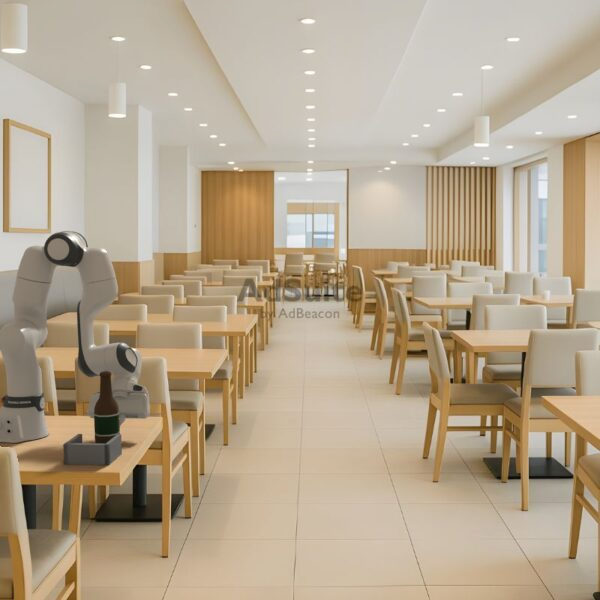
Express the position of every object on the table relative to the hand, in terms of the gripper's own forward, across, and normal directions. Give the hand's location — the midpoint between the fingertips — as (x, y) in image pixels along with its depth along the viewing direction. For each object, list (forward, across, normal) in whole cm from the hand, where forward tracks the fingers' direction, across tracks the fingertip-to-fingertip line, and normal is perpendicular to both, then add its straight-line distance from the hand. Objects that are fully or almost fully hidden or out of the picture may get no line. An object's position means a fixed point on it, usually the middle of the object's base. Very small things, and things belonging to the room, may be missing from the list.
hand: (114, 428), depth 257 cm
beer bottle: (+8, 0, -2) cm, 8 cm away
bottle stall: (+17, 0, -11) cm, 21 cm away
